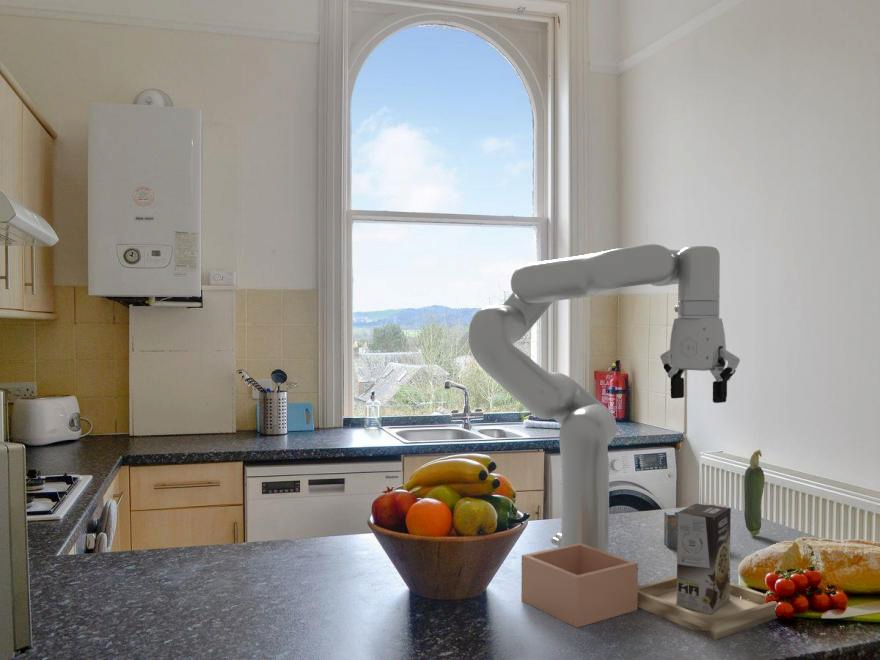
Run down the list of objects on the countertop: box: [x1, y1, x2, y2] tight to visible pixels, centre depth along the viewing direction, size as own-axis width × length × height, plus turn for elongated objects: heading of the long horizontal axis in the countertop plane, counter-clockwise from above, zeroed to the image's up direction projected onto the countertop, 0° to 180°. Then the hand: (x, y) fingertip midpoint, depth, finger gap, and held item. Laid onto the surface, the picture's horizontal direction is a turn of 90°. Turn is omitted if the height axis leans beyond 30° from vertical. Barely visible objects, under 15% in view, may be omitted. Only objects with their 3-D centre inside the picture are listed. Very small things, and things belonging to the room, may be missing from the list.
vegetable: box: [743, 449, 766, 537], centre depth 173 cm, size 4×4×20 cm
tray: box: [637, 575, 779, 641], centre depth 128 cm, size 18×18×2 cm
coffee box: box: [676, 503, 732, 614], centre depth 128 cm, size 9×6×16 cm
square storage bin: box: [520, 543, 639, 628], centre depth 129 cm, size 14×14×8 cm
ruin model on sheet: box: [663, 502, 716, 549], centre depth 164 cm, size 25×16×10 cm, turn 89°
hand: (697, 400), depth 143 cm, fingers open, 9 cm apart
